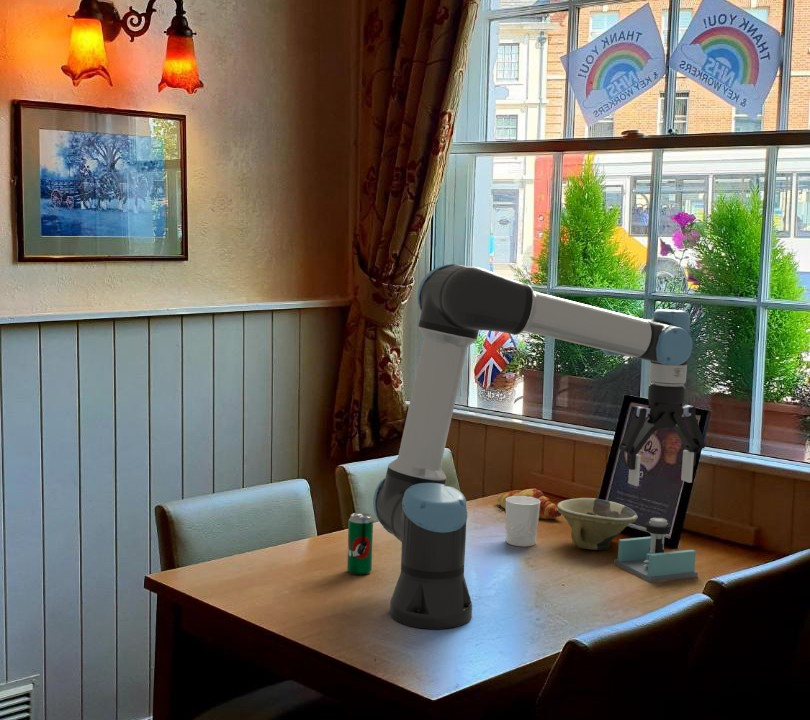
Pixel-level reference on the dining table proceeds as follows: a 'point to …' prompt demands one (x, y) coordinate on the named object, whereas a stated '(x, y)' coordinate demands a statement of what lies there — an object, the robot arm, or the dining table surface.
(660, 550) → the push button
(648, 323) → the robot arm
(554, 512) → the croissant
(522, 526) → the white cup
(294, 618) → the dining table surface
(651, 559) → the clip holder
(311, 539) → the dining table surface
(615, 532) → the bowl
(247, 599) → the dining table surface
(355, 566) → the soda can
